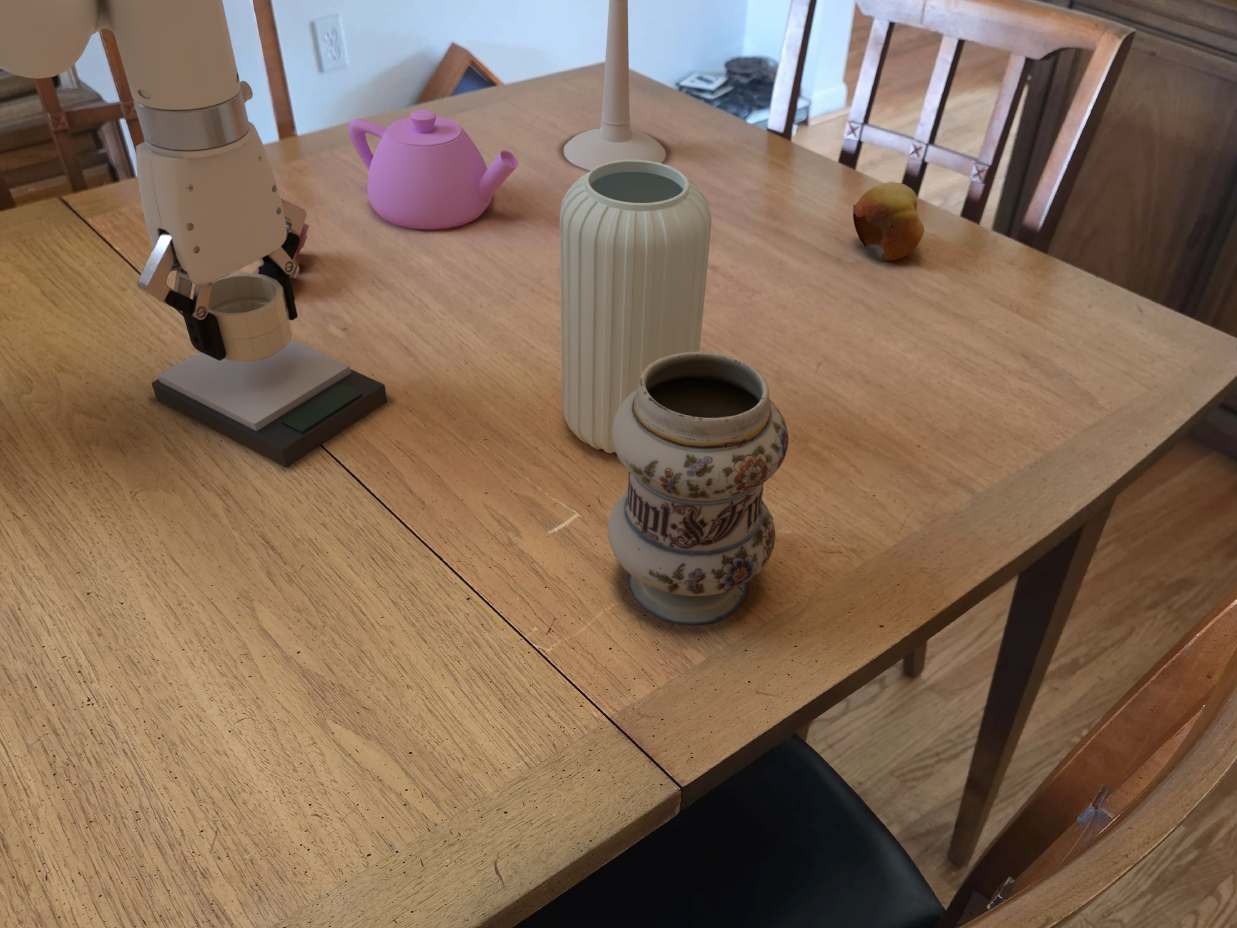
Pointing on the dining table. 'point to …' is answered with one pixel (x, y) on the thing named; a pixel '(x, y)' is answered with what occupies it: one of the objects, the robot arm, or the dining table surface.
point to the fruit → (889, 219)
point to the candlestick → (614, 107)
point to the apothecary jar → (695, 485)
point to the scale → (271, 399)
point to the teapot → (428, 171)
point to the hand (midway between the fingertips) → (247, 332)
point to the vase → (627, 284)
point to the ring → (250, 316)
